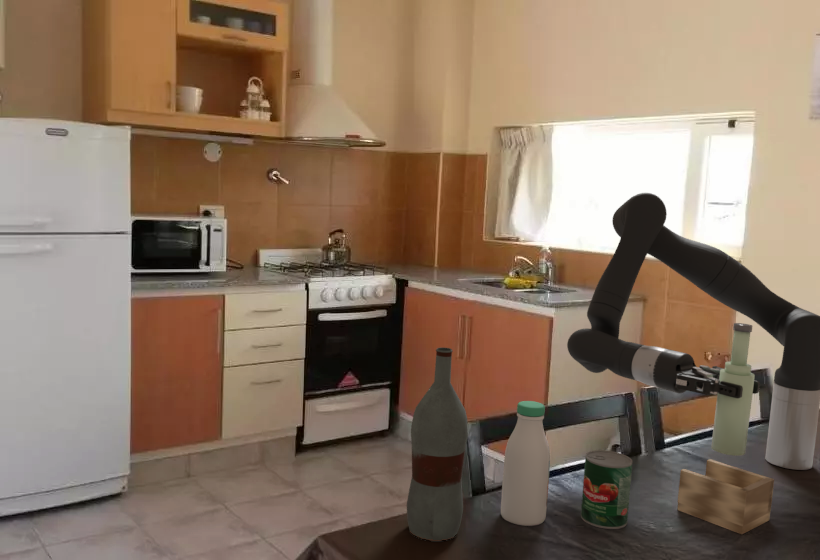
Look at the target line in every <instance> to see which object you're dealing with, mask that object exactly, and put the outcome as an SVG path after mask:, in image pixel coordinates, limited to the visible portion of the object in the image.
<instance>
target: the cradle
mask: <svg viewBox="0 0 820 560" xmlns="http://www.w3.org/2000/svg"><path fill="white" fill-rule="evenodd" d="M705 465H706V467H705V474H701V473H698V472H694V471H692V470H689V469H686V468H682V469H680V474H679V485H678V494H677V511H679V512H681V513H684V514H687V515H689V516H692V517H695V518H698V519H701V520H702V521H705V522H708V523H710V524H713V525H716V526H719V527H722V528H724V529H727V530H728V531H732V532H735V533H737V534H739V535H744V534H745V533H747V532H749V531H752V530H754V529H756V528H758V527H759V526H761V525H763V524H765V523H767V522H768V521H770V518H771V517H770V516H771V510H772V504H773V503H772V502H773V494H774V484H775V479H774V478H771V477H768V476H765V475H762V474H758V473H756V472H752V471H750V470H746V469H742V468H740V467H736V466H733V465H730V464H727V463H724V462H721V461H718V460H715V459H711V458H709V459H707V460H706V464H705Z"/></svg>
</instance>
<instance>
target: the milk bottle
mask: <svg viewBox="0 0 820 560" xmlns="http://www.w3.org/2000/svg"><path fill="white" fill-rule="evenodd" d="M545 409H546V406H545V404H543V403H541V402H538V401H535V400H523V401H519V402H518V403H517V407H516V416H517V421H516V424H515V427H514V429H513V431H512V433H511V434H510V436H509V438H508V440H507V443H506V447H505V451H504V458H503V459H504V461H503V469H502V470H503V472H502V487H501V498H500V499H501V500H500V515H501V518H502V519H504V520H505V521H506V522H508V523H511V524H515V525H518V526H523V527H524V526H526V527H527V526H528V527H533V526H538V525H541V524H542V523H543V522H545V520H546V516H547V510H548V509H547V507H548V496H549V482H550V481H549V480H550V471H551V469H550V467H551V466H550V465H551V452H550V451H551V450H550V449H551V448H550V445H549V441H548V438H547V436H546V433H545V430H544V425H543V420H544V419H545V411H546V410H545Z"/></svg>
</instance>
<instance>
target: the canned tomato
mask: <svg viewBox="0 0 820 560" xmlns="http://www.w3.org/2000/svg"><path fill="white" fill-rule="evenodd" d="M584 456H585V457H584V458H585V459H584V460H585V461H584V469H583V470H584V471H583V481H582V484H583V485H582V495H581V496H582V497H581V509H580V518H581V520H582V521H584V522H585V523H586V524H588V525H589V526H592V527H595V528H600V529H606V530H619V529H623V528H625V527H626V526H627V525H628V517H629V508H630V507H629V506H630V505H629V504H630V496H631V495H630V494H631V483H632V472H633V471H632V470H633V459H632V458H631V457H630V456H627V455H626V454H623V453H620V452H617V451H612V450H606V449H605V450H602V449H598V450H597V449H596V450H590V451H587V452H586V453H585V455H584Z"/></svg>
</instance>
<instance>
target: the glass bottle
mask: <svg viewBox="0 0 820 560" xmlns="http://www.w3.org/2000/svg"><path fill="white" fill-rule="evenodd" d="M732 326H733V328H732V329H733V339H732V344H731V345H732V346H731V347H732V348H731V355H730V356H731V357H730V361H725V364H724V369H721V370H720V377H719V380H720V381H725V382H729V383H733V384H737V385H741V386H742V387H743V391H742V397H741V398H733V397H730V396H726V395H722V394H716V395H717V396H716V404H715V413H714V421H713V427H712V437H711V446H710V447H711V449H712V451H715V452H717V453H719V454H722V455H727V456H736V457H737V456H738V457H739V456H744V455H746V451H747V442H748V434H749V426H750V417H751V409H752V402H753V401H752V400H753V395H754V394H753V386H754V380H755V376H756V375H755V373H752V365H751V364H749V363H748V355H749V347H750V340H751V339H750V338H751V333H752V332H753V325H752V324H748V323H740V322H734V323H733V325H732Z"/></svg>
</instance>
